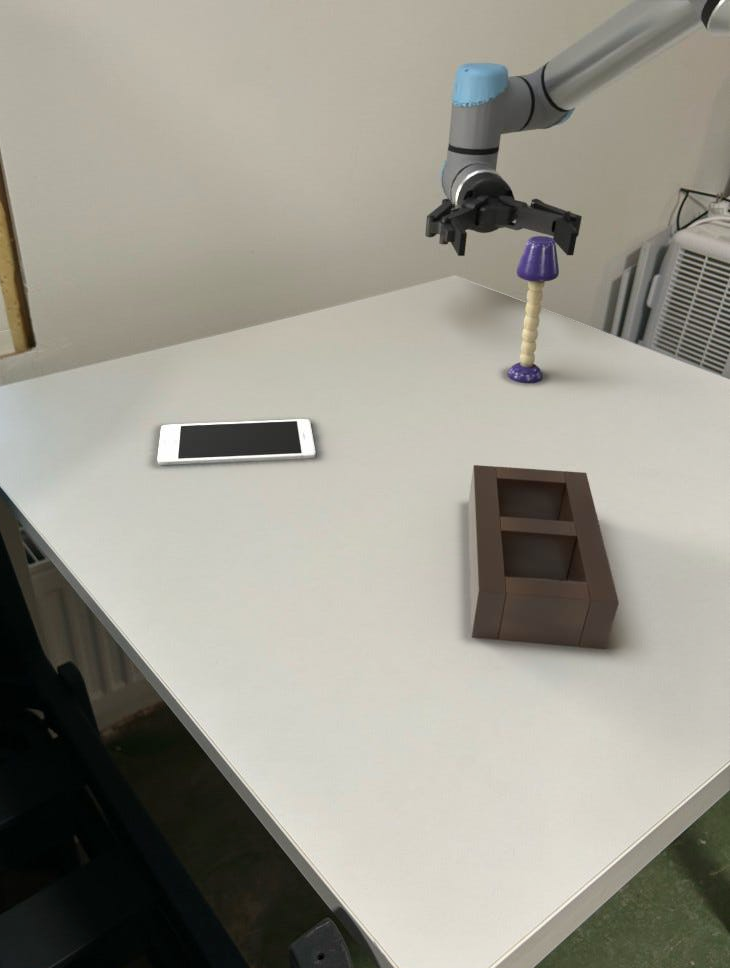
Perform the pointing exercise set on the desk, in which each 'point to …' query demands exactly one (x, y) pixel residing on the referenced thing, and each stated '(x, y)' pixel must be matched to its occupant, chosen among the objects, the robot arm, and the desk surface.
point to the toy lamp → (534, 302)
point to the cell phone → (235, 441)
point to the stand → (538, 559)
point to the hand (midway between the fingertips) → (517, 244)
